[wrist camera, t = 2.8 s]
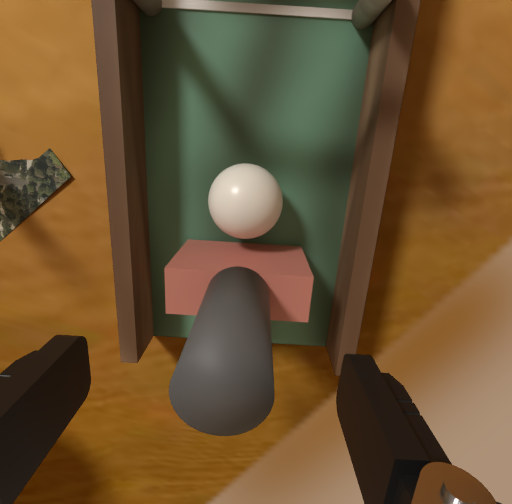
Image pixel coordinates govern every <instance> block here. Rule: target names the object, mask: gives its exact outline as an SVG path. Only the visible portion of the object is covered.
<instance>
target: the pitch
mask: <svg viewBox="0 0 512 504" xmlns="http://www.w3.org/2000/svg"><path fill="white" fill-rule="evenodd" d="M420 1H421V0H92V13H93V25H94V37H95V49H96V62H97V74H98V86H99V98H100V111H101V123H102V135H103V148H104V160H105V172H106V184H107V197H108V209H109V221H110V233H111V246H112V258H113V270H114V282H115V295H116V307H117V319H118V332H119V344H120V356H121V362H128V363H138V361H139V360H140V358H141V356H142V355H143V353H144V351H145V349H146V348H147V346H148V344H149V343H150V341H151V339H152V337H153V336H167V337H183V338H188V335H189V333H190V330H191V328H192V325H193V323H194V320H195V318H196V315H181V314H166V305H165V271H164V268H165V266H166V265H167V264H168V263H169V262H170V260H171V259H172V258H173V257H174V256H175V254H176V253H177V252H178V251H179V250H180V248H181V247H182V246H183V245H184V244H185V242H186V241H187V240H188V239H191V240H207V241H223V242H239V243H255V244H271V245H287V246H301V247H302V250H303V252H304V254H305V257H306V259H307V262H308V264H309V267H310V269H311V272H312V274H313V276H314V279H313V287H312V295H311V303H310V312H309V320H308V322H293V321H277V320H271V338H272V343H279V344H295V345H311V346H326V348H327V351H328V354H329V358H330V361H331V364H332V367H333V370H334V373H335V375H336V376H340V373H341V367H342V362H343V357H344V355H345V354H356V351H357V345H358V340H359V334H360V329H361V324H362V318H363V313H364V307H365V302H366V296H367V291H368V285H369V280H370V274H371V269H372V263H373V258H374V252H375V247H376V241H377V236H378V231H379V225H380V220H381V214H382V209H383V203H384V198H385V192H386V187H387V181H388V176H389V170H390V165H391V159H392V154H393V148H394V143H395V138H396V132H397V127H398V121H399V116H400V110H401V105H402V99H403V94H404V88H405V83H406V77H407V72H408V66H409V61H410V55H411V50H412V44H413V39H414V34H415V28H416V23H417V17H418V12H419V6H420ZM242 163H248V164H254V165H258V166H260V167H262V168H264V169H266V170H267V171H268V172H270V173H271V174H272V175H273V176H274V178H275V179H276V180H277V182H278V184H279V186H280V188H281V192H282V198H283V205H282V211H281V214H280V217H279V219H278V220H277V222H276V224H275V225H274V226H273V227H272V228H271V229H270V230H269V231H268V232H266V233H265V234H263V235H261V236H258V237H255V238H250V239H241V238H236V237H233V236H230V235H228V234H226V233H225V232H224V231H222V230H221V229H220V228H219V227H218V226H217V225H216V224H215V222H214V220H213V219H212V216H211V214H210V211H209V206H208V196H209V191H210V188H211V185H212V183H213V182H214V180H215V179H216V177H217V176H218V175H219V174H220V173H221V172H222V171H223V170H225V169H227V168H228V167H230V166H233V165H236V164H242Z"/></svg>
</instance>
